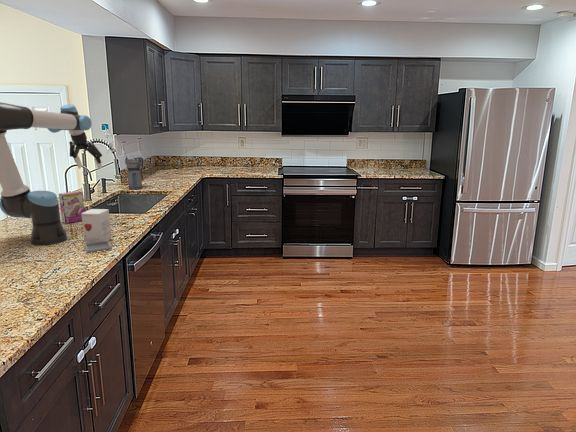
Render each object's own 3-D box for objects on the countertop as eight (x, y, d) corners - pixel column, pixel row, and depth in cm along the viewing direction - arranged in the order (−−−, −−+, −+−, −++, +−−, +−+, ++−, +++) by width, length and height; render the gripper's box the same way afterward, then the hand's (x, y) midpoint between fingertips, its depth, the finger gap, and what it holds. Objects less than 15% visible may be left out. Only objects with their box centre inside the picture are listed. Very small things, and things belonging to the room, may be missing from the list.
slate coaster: (87, 253, 179) (86, 250, 178) (84, 247, 187) (84, 244, 187) (111, 249, 184) (111, 246, 183) (108, 243, 192) (108, 240, 191)
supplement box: (84, 244, 191) (80, 213, 187) (94, 238, 200) (90, 208, 196) (103, 244, 191) (99, 213, 187) (112, 238, 199) (109, 208, 195)
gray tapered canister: (145, 189, 321) (143, 157, 315) (127, 190, 317) (124, 157, 310) (145, 186, 330) (142, 155, 324) (127, 188, 326) (124, 156, 320)
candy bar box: (66, 224, 224) (61, 194, 220) (62, 222, 227) (57, 193, 223) (86, 220, 233) (82, 191, 228) (82, 218, 236) (78, 190, 231)
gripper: (100, 131, 227) (112, 166, 238) (63, 130, 233) (76, 164, 244) (92, 136, 221) (104, 171, 232) (54, 135, 227) (68, 169, 238)
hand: (90, 168), depth 238 cm, fingers open, 13 cm apart
